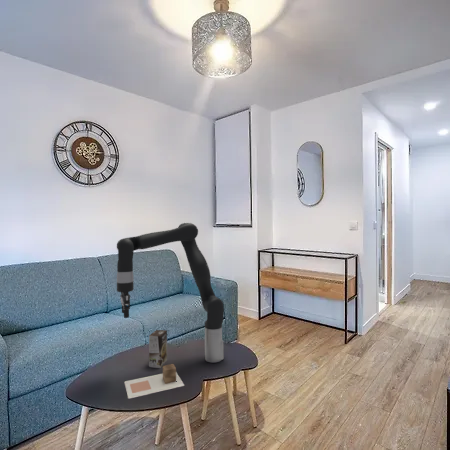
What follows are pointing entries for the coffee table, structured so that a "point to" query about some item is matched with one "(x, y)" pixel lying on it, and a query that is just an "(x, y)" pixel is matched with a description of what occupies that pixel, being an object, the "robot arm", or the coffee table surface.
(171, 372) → the walnut block
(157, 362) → the coffee box
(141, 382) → the mat
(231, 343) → the coffee table surface
